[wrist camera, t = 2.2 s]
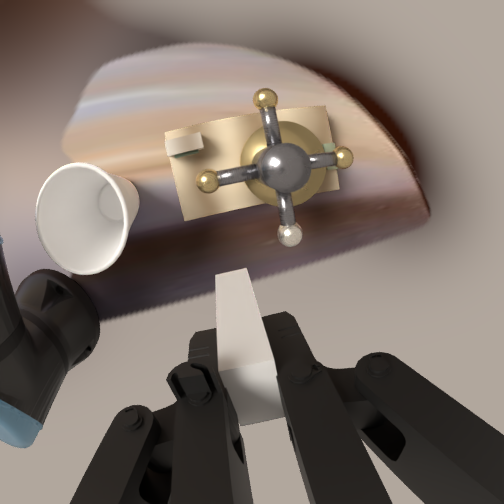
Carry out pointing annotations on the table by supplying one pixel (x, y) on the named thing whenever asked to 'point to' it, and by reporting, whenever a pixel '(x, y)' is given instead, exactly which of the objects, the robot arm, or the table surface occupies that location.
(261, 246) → the table surface
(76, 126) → the table surface
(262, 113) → the capstan
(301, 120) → the stand
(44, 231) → the cup
